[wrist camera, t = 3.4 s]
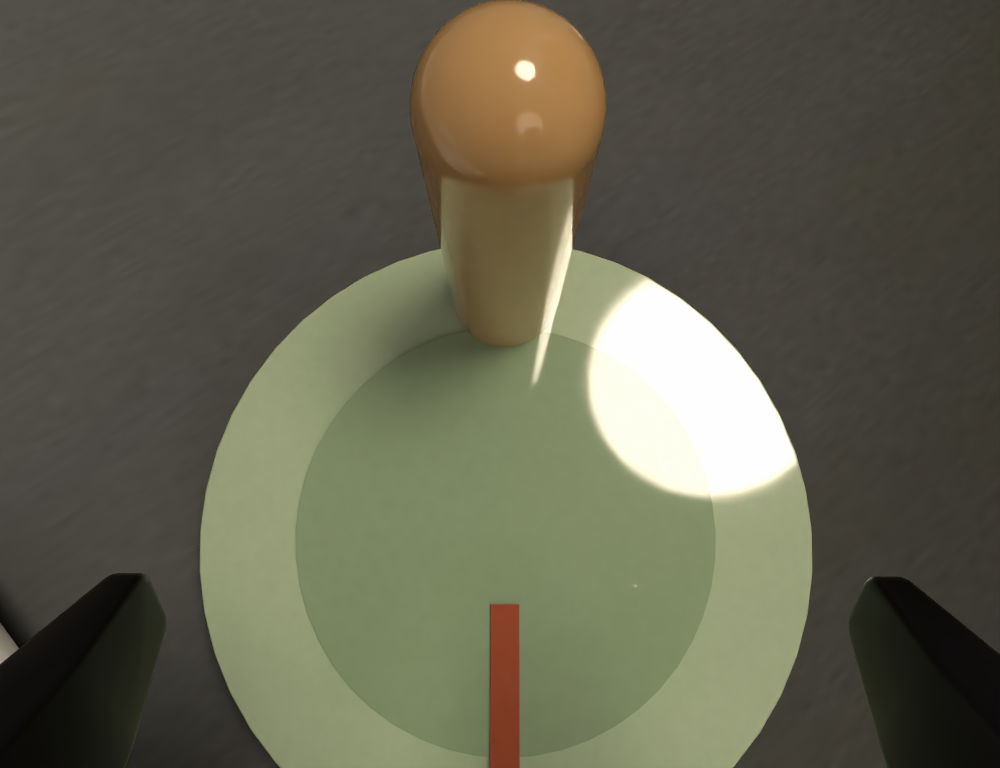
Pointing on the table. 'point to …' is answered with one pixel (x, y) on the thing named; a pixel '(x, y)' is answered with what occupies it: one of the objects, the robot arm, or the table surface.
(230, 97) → the table surface
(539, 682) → the green disc with post
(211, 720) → the table surface
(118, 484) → the table surface
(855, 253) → the table surface
